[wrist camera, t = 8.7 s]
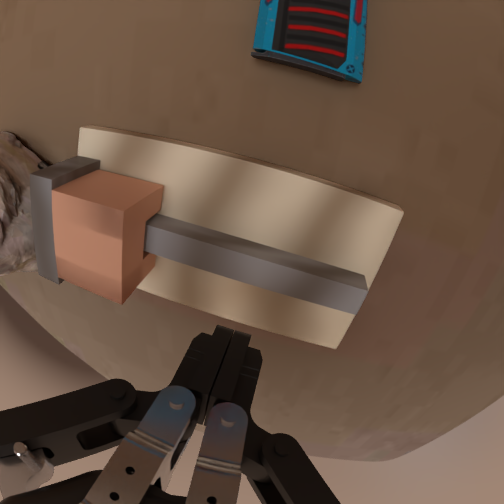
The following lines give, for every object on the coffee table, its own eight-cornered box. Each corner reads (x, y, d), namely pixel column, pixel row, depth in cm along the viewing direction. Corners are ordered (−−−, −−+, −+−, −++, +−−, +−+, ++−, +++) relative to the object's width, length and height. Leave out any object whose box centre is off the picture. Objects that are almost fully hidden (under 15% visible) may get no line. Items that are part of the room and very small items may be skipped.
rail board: (398, 205, 17) (431, 248, 12) (335, 338, 22) (337, 400, 17) (90, 124, 18) (29, 139, 13) (86, 258, 23) (42, 297, 18)
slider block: (163, 185, 18) (123, 211, 14) (154, 266, 21) (122, 304, 17) (98, 169, 18) (51, 189, 14) (96, 245, 21) (58, 277, 17)
